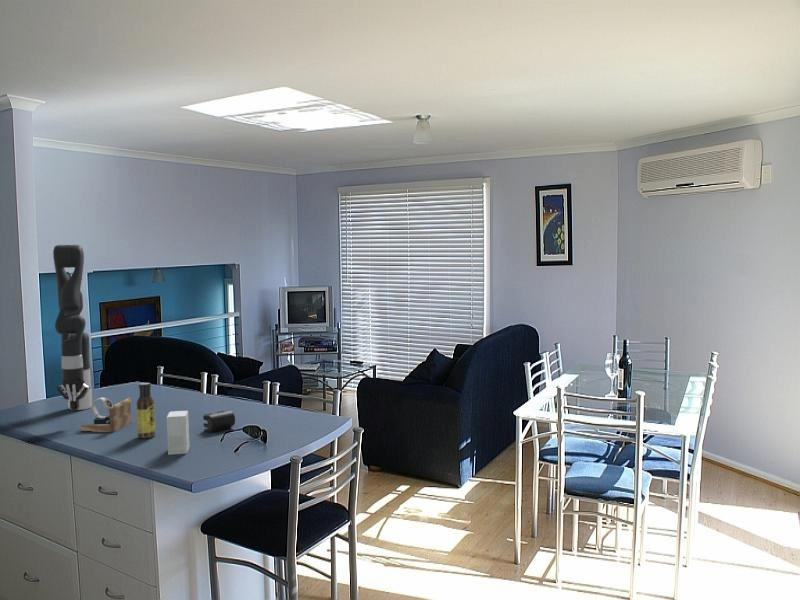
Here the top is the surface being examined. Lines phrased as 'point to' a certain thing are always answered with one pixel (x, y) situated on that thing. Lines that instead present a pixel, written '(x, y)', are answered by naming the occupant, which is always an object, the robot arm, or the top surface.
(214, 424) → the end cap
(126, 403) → the display stand
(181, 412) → the small box
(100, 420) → the watch
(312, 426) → the top surface
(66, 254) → the robot arm
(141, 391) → the sauce bottle
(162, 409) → the top surface
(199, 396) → the top surface
